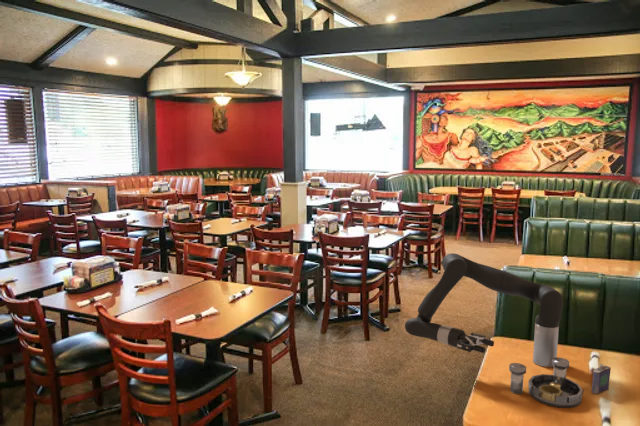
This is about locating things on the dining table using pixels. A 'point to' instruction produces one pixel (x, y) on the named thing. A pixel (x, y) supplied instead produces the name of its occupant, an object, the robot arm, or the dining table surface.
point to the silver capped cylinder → (517, 377)
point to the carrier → (556, 387)
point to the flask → (601, 379)
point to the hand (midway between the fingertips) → (489, 347)
